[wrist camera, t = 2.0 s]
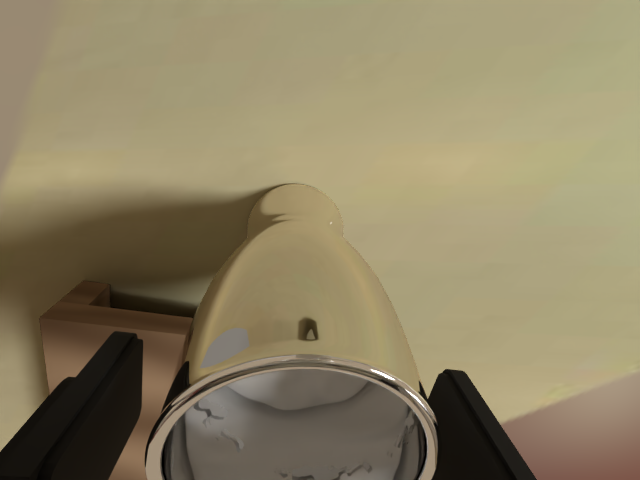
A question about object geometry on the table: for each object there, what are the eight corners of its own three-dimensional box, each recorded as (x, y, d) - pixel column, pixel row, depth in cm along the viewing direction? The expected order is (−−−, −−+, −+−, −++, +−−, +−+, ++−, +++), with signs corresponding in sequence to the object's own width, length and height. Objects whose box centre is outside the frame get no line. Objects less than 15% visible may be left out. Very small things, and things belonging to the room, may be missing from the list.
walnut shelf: (83, 280, 21) (39, 318, 18) (266, 305, 23) (261, 343, 19) (93, 429, 26) (61, 481, 23) (243, 440, 28) (235, 490, 24)
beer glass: (307, 294, 23) (326, 583, 9) (220, 241, 21) (76, 509, 7) (371, 218, 21) (516, 437, 7) (282, 152, 19) (249, 282, 5)
